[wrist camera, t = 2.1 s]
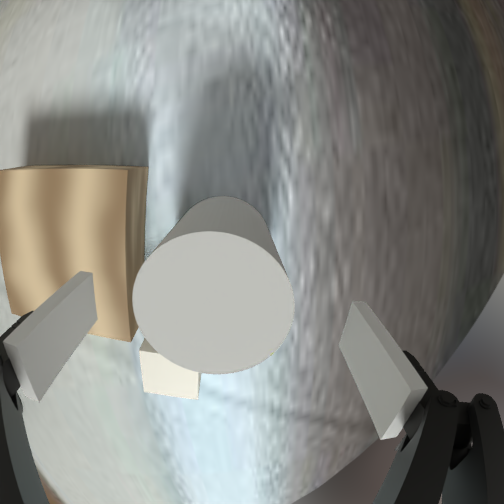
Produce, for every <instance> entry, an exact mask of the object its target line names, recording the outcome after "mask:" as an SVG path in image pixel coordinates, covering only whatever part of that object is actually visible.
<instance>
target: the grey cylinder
mask: <svg viewBox="0 0 504 504" xmlns="http://www.w3.org/2000/svg"><path fill="white" fill-rule="evenodd" d="M132 302H133V311H134V315H135V319H136V321H137V324H138V326H139V328H140V330H141V332H142V334H143V336H144V337H145V339H146V340H147V341H148V342H149V344H150V345H151V346H152V347H153V348H154V349H155V350H156V351H157V352H158V353H159V354H161V355H162V356H163V357H165V358H166V359H168V360H169V361H171V362H172V363H174V364H176V365H178V366H181V367H183V368H185V369H188V370H192V371H195V372H200V373H206V374H228V373H234V372H239V371H243V370H246V369H249V368H251V367H253V366H255V365H257V364H259V363H261V362H263V361H264V360H266V359H267V358H268V357H270V356H271V355H272V354H273V353H274V352H275V351H276V350H277V349H278V348H279V347H280V346H281V344H282V343H283V342H284V340H285V339H286V337H287V335H288V333H289V331H290V328H291V325H292V322H293V318H294V310H295V302H294V294H293V290H292V287H291V284H290V281H289V279H288V276H287V274H286V271H285V269H284V266H283V264H282V261H281V259H280V257H279V254H278V252H277V249H276V247H275V244H274V242H273V240H272V237H271V235H270V232H269V230H268V227H267V225H266V223H265V221H264V219H263V217H262V216H261V215H260V213H259V212H258V211H257V210H256V209H255V208H254V207H253V206H251V205H250V204H248V203H247V202H245V201H243V200H241V199H238V198H235V197H230V196H215V197H211V198H207V199H205V200H202V201H200V202H198V203H197V204H195V205H194V206H193V207H192V208H190V209H189V210H188V212H187V213H186V214H185V215H184V216H183V217H182V218H181V219H180V221H179V222H178V223H177V224H176V225H175V226H174V227H173V229H172V230H171V231H170V232H169V233H168V234H167V236H166V237H165V238H164V239H163V240H162V241H161V243H160V244H159V245H158V246H157V247H156V249H155V250H154V251H153V252H152V253H151V254H150V256H149V257H148V258H147V259H146V261H145V262H144V263H143V265H142V266H141V268H140V270H139V272H138V274H137V277H136V280H135V283H134V287H133V296H132Z"/></svg>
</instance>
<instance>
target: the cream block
mask: <svg viewBox="0 0 504 504" xmlns="http://www.w3.org/2000/svg"><path fill="white" fill-rule="evenodd" d="M139 354H140V363H141V371H142V379H143V386H144V392H149V393H154V394H160V395H167V396H173V397H181V398H188V399H196V400H198V395H199V387H200V380H201V373H200V372H195V371H192V370H188V369H185V368H183V367H181V366H178V365H176V364H174V363H172V362H171V361H169V360H168V359H166V358H165V357H163V356H162V355H161V354H159V353H158V352H157V351H156V350H155V349H154V348H153V347H152V346H151V345H150V344H149V342H148V341H147V340H146V339H145V338H144V341H143V343H142V345H141V347H140V350H139Z"/></svg>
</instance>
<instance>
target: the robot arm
mask: <svg viewBox="0 0 504 504" xmlns="http://www.w3.org/2000/svg"><path fill="white" fill-rule="evenodd" d="M97 320H98V318H97V311H96V303H95V294H94V284H93V273H90V272H84V271H79V272H78V273H77V274H76V275H75V276H73V277H72V278H71V279H70V280H69V281H68V282H66V283H65V284H64V285H63V286H62V287H61V288H59V289H58V290H57V291H56V292H55V293H54V294H53V295H51V296H50V297H49V298H48V299H47V300H46V301H45V302H44V303H42V304H41V305H40V306H39V307H38V308H37V309H36V310H35V311H31V312H29V313H27V314H25V315H23V316H22V317H21V318H20V319H18V320H17V322H16V323H14V324H13V325H12V327H10V328H9V329H8V330H7V331H6V332H5V333H4V334H3V335H2V336H1V337H0V504H49V502H48V499H47V497H46V494H45V492H44V489H43V486H42V484H41V481H40V478H39V475H38V472H37V469H36V466H35V463H34V460H33V456H32V453H31V449H30V446H29V442H28V438H27V434H26V430H25V425H24V421H23V416H22V412H23V407H22V404H21V401H20V399H19V396H18V394H17V392H16V391H17V390H18V389H19V387H20V386H21V389H22V391H23V393H24V395H25V397H27V398H30V399H32V400H34V401H37V402H40V401H41V399H42V397H43V396H44V394H45V393H46V391H47V390H48V388H49V387H50V385H51V384H52V382H53V381H54V379H55V378H56V376H57V375H58V373H59V372H60V371H61V369H62V368H63V366H64V365H65V363H66V362H67V361H68V359H69V358H70V356H71V355H72V353H73V352H74V351H75V349H76V348H77V347H78V345H79V344H80V342H81V341H82V340H83V338H84V337H85V336H86V334H87V333H88V332H89V330H90V329H91V328H92V326H93V325H94V324H95V322H96V321H97ZM339 347H340V350H341V352H342V354H343V356H344V358H345V360H346V363H347V365H348V367H349V369H350V371H351V373H352V376H353V378H354V380H355V382H356V384H357V387H358V389H359V391H360V393H361V396H362V398H363V400H364V402H365V405H366V407H367V409H368V412H369V414H370V416H371V418H372V421H373V423H374V425H375V428H376V430H377V432H378V435H379V437H380V439H387V438H392V437H397V435H398V434H399V432H400V431H401V430H402V428H403V427H404V429H405V431H406V433H407V434H406V435H405V437H404V438H403V439H402V441H401V442H400V443H399V445H398V446H397V447H396V449H395V450H396V451H397V450H398V449H399V450H398V452H397V454H396V457H395V459H394V461H393V463H392V465H391V468H390V470H389V472H388V474H387V476H386V478H385V480H384V482H383V484H382V486H381V488H380V490H379V492H378V494H377V496H376V498H375V500H374V501H373V503H372V504H438V503H439V500H440V497H441V494H442V504H504V429H503V425H502V421H501V418H500V414H499V411H498V407H497V404H496V402H495V401H494V400H493V399H492V397H490V396H489V395H486V394H483V393H482V394H480V393H479V394H476V395H475V397H474V398H473V399H472V401H471V402H470V403H467V402H459V401H458V399H457V398H456V397H455V396H454V395H453V394H452V393H450V392H448V391H443V390H438V389H437V388H436V386H435V385H434V383H433V382H432V380H431V379H430V378H429V376H428V375H427V373H426V372H424V369H423V368H422V367H421V366H420V364H419V362H418V361H417V360H416V358H415V357H414V356H413V355H411V354H410V353H409V352H407V351H402V350H401V349H400V347H399V346H398V345H397V343H396V342H395V341H394V339H393V338H392V336H391V335H390V334H389V332H388V331H387V330H386V328H385V327H384V326H383V324H382V323H381V322H380V320H379V319H378V318H377V316H376V315H375V314H374V312H373V311H372V310H371V308H370V307H369V306H368V305H367V303H366V302H360V301H352V304H351V307H350V311H349V314H348V317H347V321H346V324H345V327H344V330H343V333H342V336H341V340H340V343H339ZM472 442H473V445H472V447H471V443H472Z"/></svg>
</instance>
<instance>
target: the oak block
mask: <svg viewBox="0 0 504 504" xmlns="http://www.w3.org/2000/svg"><path fill="white" fill-rule="evenodd" d="M147 179H148V167H142V166H115V165H42V166H24V167H17V168H10V169H4V170H0V256H1V262H2V269H3V274H4V280H5V285H6V290H7V295H8V299H9V304H10V308H11V312H12V314H16V315H19V316H23V315H25V314H27V313H29V312H31V311H35V310H36V309H37V308H38V307H39V306H40V305H41V304H42V303H44V302H45V301H46V300H47V299H48V298H49V297H50V296H51V295H53V294H54V293H55V292H56V291H57V290H58V289H59V288H61V287H62V286H63V285H64V284H65V283H66V282H68V281H69V280H70V279H71V278H72V277H73V276H75V275H76V274H77V273H78V272H79V271H84V272H90V273H93V284H94V294H95V303H96V311H97V318H98V320H97V321H96V322H95V324H94V325H93V326H92V328H91V329H90V330H89V332H88V333H87V334H92V335H97V336H101V337H106V338H111V339H117V340H122V341H127V342H131V341H132V339H133V337H134V335H135V333H136V331H137V329H138V327H139V326H138V324H137V321H136V319H135V315H134V311H133V302H132V296H133V287H134V283H135V280H136V277H137V274H138V272H139V270H140V268H141V266H142V265H143V263H144V255H145V213H146V194H147Z"/></svg>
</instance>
